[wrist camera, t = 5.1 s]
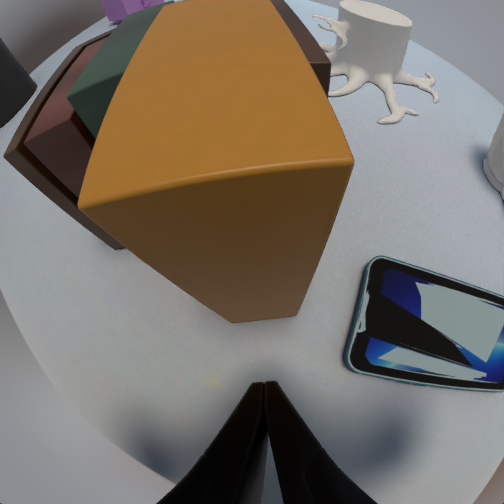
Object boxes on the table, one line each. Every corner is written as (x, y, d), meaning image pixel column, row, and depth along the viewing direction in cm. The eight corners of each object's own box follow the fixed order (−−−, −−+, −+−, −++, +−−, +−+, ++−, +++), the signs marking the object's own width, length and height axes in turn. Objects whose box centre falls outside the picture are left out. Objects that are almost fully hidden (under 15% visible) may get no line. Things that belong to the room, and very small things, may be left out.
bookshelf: (308, 223, 18) (335, 38, 6) (114, 250, 19) (-10, 145, 7) (283, 115, 22) (276, -20, 10) (131, 143, 23) (69, 38, 11)
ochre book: (296, 315, 16) (357, 161, 3) (231, 323, 16) (73, 208, 3) (275, 178, 20) (261, -13, 7) (222, 185, 20) (162, 5, 7)
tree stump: (264, 41, 28) (259, -9, 21) (381, 35, 29) (387, -5, 21) (339, 132, 21) (353, 53, 13) (470, 117, 21) (494, 69, 14)
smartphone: (507, 393, 11) (341, 370, 14) (500, 393, 12) (338, 369, 15) (520, 301, 13) (370, 250, 16) (513, 304, 14) (365, 256, 17)
